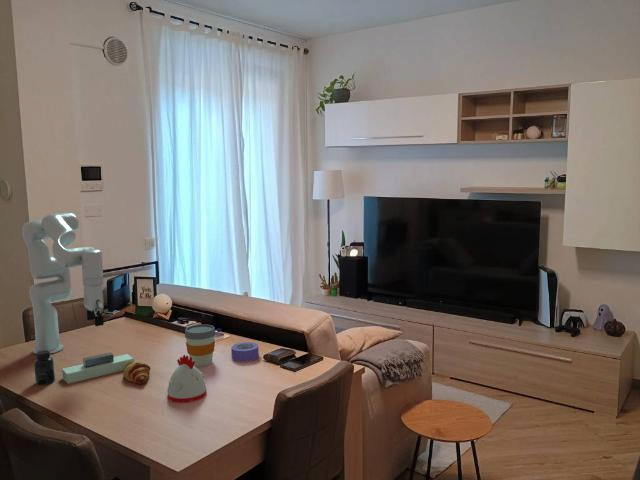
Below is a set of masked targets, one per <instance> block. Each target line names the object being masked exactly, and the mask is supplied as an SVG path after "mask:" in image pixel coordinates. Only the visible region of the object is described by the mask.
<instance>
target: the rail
mask: <svg viewBox="0 0 640 480" xmlns="http://www.w3.org/2000/svg"><path fill="white" fill-rule="evenodd" d="M113 357H114V362H110V363H106V364H100V365H96V366H93V367H88V368H85V367H84V366H83V363H82V364H78V365H77V364H76V365H73V366H70V367H69V366H68V367H64V368H62V370H61V371H62V372H61V373H62V379H63V381H64V382H65V383H66V384H68V385H69V384H73V383H76V382H81V381H85V380H90V379H94V378H98V377H101V376H105V375H111V374H114V373H118V372H121V371H123V372H124V369H125V366H126V365H127V364H128V363H130V362H135V359H134V358H135V357H133V356H132V355H130V354H128V353H126V354H122V355H117V356H113Z"/></svg>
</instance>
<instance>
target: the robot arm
mask: <svg viewBox="0 0 640 480" xmlns="http://www.w3.org/2000/svg"><path fill="white" fill-rule="evenodd" d="M79 227H80V221H79V218H78V217H77V216H76V214H74V213H72V212H64V213H63V212H61V213H60V212H59V213H51V214H47V215H45V216H43V218H42V219H38V220H37V219H36V220H31V221H27V222H25V223H24V224H23V226H22V230H21V234H22V239H23V241H24V243H25V246H26V247H27V252H28V253H27V254H28V261H29V269H30V274H31V277H32V278H33V279H35V280H45V279H52V278H56V279H54V280H48V281H42V282H37V283H34V284H32V285H31V286H30V288H29V298H30V301H31V302H30V303H31V304H32V312H33V321H34V322H33V323H34V334H35V345H36V347H34V348H33V349H32V353H33V354H35V355H36V353H37V352H39V351H45V350H48V351H50V355H51V354H56V353H58V352H61V351H62V350H63V349H64V347H65V346H64V344H62V343H60V332H59V319H58V311H57V309H56V308H55V307H54V306H53V305H52V303H53V302H59V301H62V300H67V299H69V298H70V297H71V296H72V294H73V287H72V279H71V271H70V270H71V268H77V267H81V272H82V273H81V275H82V285H83V307H84V308H85V309H86V319H87V321H93V320H94V326H95V327H100V326H104V325H105V324H104V320H105V319H104V295H103V287H102V285H104V268H103V267H104V266H103V253H102V251H101V250H100V249H95V248H94V247H93V246H83V247H82V246H81V247H73V248H68V247H69V246H71V245H72V244H74V242H75V240H76V235H77V234H76V231H78V229H79ZM44 239H47V240H48V239H51V240H52V241H53V243H52V249H51V250H52V255H53V256H51V251H50V247H49V245H48V243H47V242H46V241H45V240H44Z"/></svg>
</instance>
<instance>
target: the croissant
mask: <svg viewBox="0 0 640 480" xmlns="http://www.w3.org/2000/svg"><path fill="white" fill-rule="evenodd" d="M150 372H151V366H150V365H149V364H148V363H146V362H143V361H134V362H130V363H128V364H127V365H126V366H125V369H124V370H123V374H122V377H123V378H125V379H126V380H127V381H128V382H132V383H135V384H140V385H141V384H144V383H145V382H147V381H148V379H149V377H150Z"/></svg>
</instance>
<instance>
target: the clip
mask: <svg viewBox="0 0 640 480" xmlns="http://www.w3.org/2000/svg"><path fill="white" fill-rule="evenodd" d="M114 357H115V356H114V354H113V353H112V352H106V353H101V354H95V355H92V356H88V357H82V364H83V366H84V367H85V368H88V367H93V366H96V365H100V364H106V363H110V362H114Z"/></svg>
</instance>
